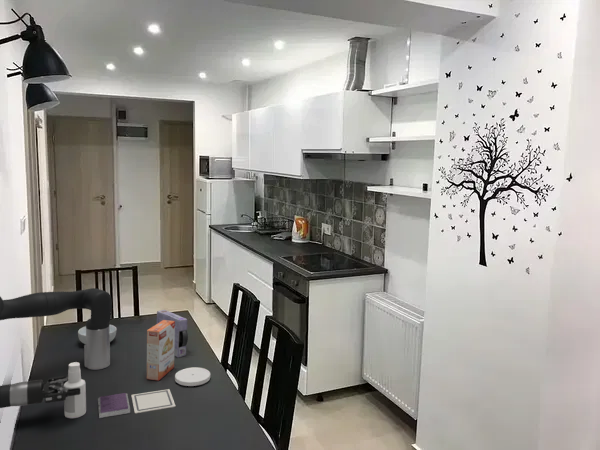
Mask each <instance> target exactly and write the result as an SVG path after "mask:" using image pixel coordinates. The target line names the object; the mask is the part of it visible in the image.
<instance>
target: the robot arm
mask: <svg viewBox="0 0 600 450" xmlns="http://www.w3.org/2000/svg"><path fill="white" fill-rule="evenodd" d="M74 309H75V310H76V309H77V310H79V309H80V310H81V309H82V310H84V309H85V310H89V311H90V318H88V319H87V320H86V321H85V326H86V344H84V345H83V347H84V348H83V349H84V354H83V356H84V357H83V358H84V367H85V368H87V369H88V370H93V371H95V370H102V369H105V368H108V367H109V366H110V365H111V344H110V343H111V341H110V329H109V325H110V322H111V321H112V314H113V313H112V311H113V310H112V309H113V300H112V296H111V294H110V293H109V292H108V291H105V290H103V289H100V288H96V287H95V288H93V287H91V288H87V289H85V288H84V289H78V290H74V291H44V292H43V291H42V292H34V293H29V294H25V295H21V296H18V297H14V298H10V299H3V298H2V296H0V321H4V320H10V319H25V318H27V319H28V318H38V317H39V318H41V317H49V316H51V317H52V316H55V315H59V314H61V313H64V312H67V311H69V310H74ZM67 381H68V375H63V376H62V375H61V376H54V377H49V378H47V382H46V383H44V380H43V379H35V380H26V381H22V382H21V381H19V382H16V383H12V384H10V383H9V384H3V385H0V409H3V408H4V409H5V408H9V407H20V406H21V407H22V406H30V405H34V404H41V403H44V402H45V403H47V404H49V403H56V402H62V401H63V402H64V400H66V398H67V397H68V396H74V395H80V388H73V389H68V390H67V389H64V384H65V383H66V382H67ZM44 400H45V401H44Z"/></svg>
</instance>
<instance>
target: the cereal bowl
mask: <svg viewBox="0 0 600 450" xmlns="http://www.w3.org/2000/svg"><path fill="white" fill-rule="evenodd" d="M109 329H110V342H112V341H113V340H114V339H115V338H116V335H117V330H118V329H117V327H116V326H115V325H113V324H109ZM77 335H78V340H79V341H80V342H81V343H82V344H84V345H86V325H85V326H83V327H81V328H79V330H78V331H77Z"/></svg>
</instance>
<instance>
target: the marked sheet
mask: <svg viewBox="0 0 600 450" xmlns="http://www.w3.org/2000/svg"><path fill="white" fill-rule="evenodd" d="M131 401H132V405H133V411H134V414H140V413H141V414H142V413H147V412H153V411H158V410H163V409H164V410H165V409H170V408H175V407H176V404H175V403H176V402H175V401H174V397H173V395H172V392H171V390H170V388H168V389H161V390H160V389H159V390H155V391H148V392H147V391H146V392H142V393H135V394H131Z"/></svg>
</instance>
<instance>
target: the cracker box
mask: <svg viewBox="0 0 600 450" xmlns="http://www.w3.org/2000/svg"><path fill="white" fill-rule="evenodd" d="M174 349H175V321H168V320H162V321H161V322H159V323H158V324H157V323H156V324H155V325H152V326H151V327H150V328H149V329H147V330H146V380H150V381H151V380H152V381H158V382H159V381H160V380H162V378H164V377H165V376H166V375H167V374H169V372H171V371H172V370H173V369H174V368H175V356H174Z"/></svg>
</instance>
